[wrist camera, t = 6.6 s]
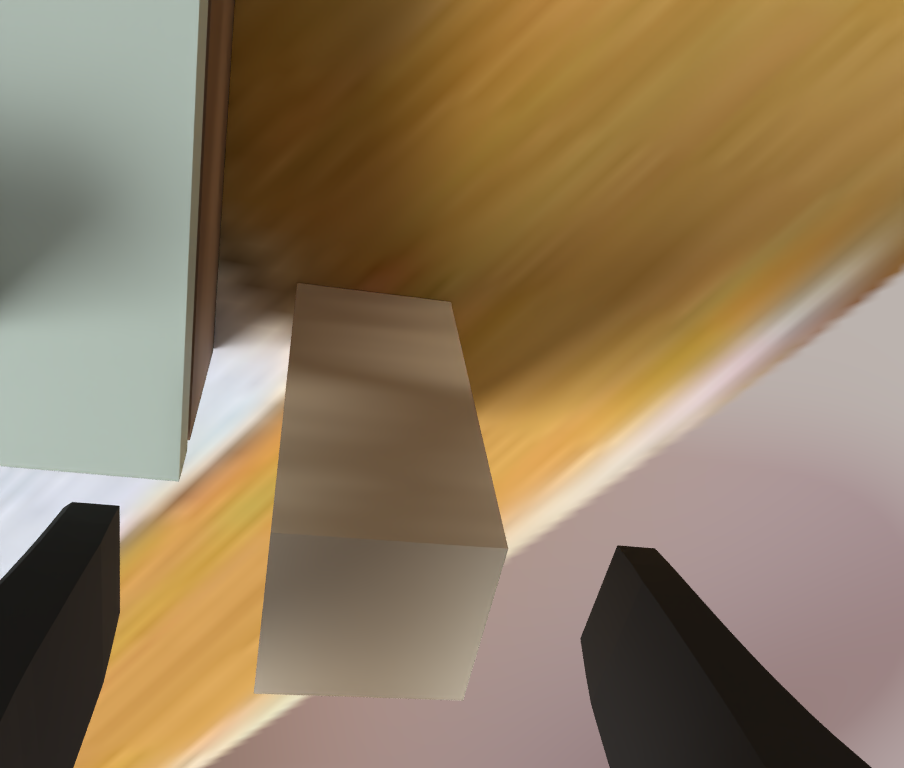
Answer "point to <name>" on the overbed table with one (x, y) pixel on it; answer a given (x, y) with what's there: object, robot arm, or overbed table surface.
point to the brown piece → (210, 192)
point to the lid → (99, 232)
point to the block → (378, 506)
